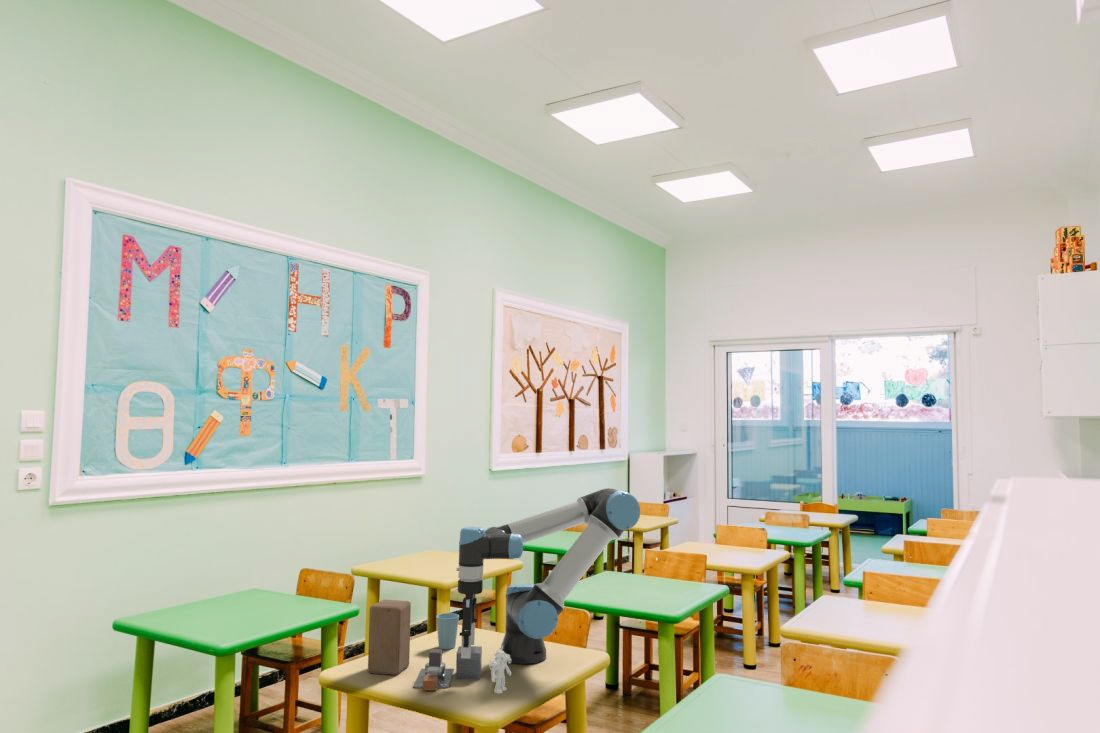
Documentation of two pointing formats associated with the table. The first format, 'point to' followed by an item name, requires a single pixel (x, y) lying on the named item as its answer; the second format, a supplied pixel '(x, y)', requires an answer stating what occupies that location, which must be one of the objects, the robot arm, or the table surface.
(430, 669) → the lever
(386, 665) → the wooden block
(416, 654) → the table surface
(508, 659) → the hat wearing toy figure
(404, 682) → the table surface
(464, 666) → the grey metal cube
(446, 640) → the cup
